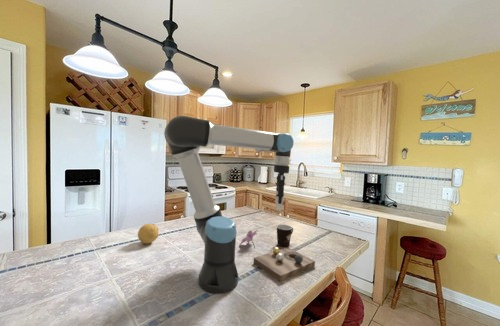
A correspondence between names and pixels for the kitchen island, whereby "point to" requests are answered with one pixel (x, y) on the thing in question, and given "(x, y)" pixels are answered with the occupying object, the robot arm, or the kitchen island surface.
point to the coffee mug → (284, 235)
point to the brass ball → (276, 250)
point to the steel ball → (280, 257)
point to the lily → (249, 237)
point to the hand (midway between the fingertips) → (278, 207)
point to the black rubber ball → (298, 259)
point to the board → (283, 264)
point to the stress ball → (148, 233)
